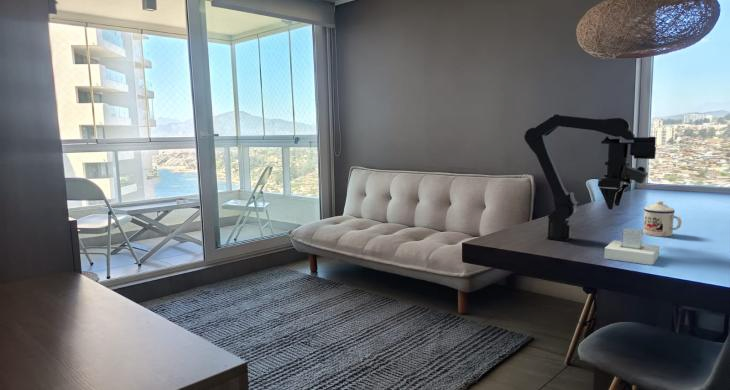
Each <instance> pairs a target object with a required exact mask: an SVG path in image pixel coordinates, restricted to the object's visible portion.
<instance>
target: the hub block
mask: <svg viewBox="0 0 730 390" xmlns="http://www.w3.org/2000/svg"><path fill="white" fill-rule="evenodd" d="M659 256H660V245H657V244H647V243H642V250H639V249H631V248H623V247H622V240H615V239H613V240H612V241H611V242H610V243H609V244H608V245H606V246H605V247H604V256H603V257H604V259H607V260H614V261H620V262H627V263H635V264H640V265H641V264H642V265H643V264H644V265H648V266H649V265H650V266H654V264H655V262H656V261H657V259H658V258H659Z"/></svg>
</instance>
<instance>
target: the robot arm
mask: <svg viewBox="0 0 730 390" xmlns="http://www.w3.org/2000/svg"><path fill="white" fill-rule="evenodd" d="M559 127H563V128H571V129H579V130H587V131H588V130H589V131H596V132H598V133H602V134H605V135H607V136H606V137H605V138H604V139H603V140H602V141H600V144H602V145H607V151H606V152H607V153H606V161H605V162H604V166H605V167H606V168H605V174H604V176H603V177H601V178H600V179H598V180H597V187H598V189H599V190H600V192H601V195H602V197H603V199H604V202H605V204H606V207H607V208H608V210H610V211H611V210H613V209H614V207H615V206H616V207H617V206H618V207H619V206H620V204H621V202H622V199H623V195H624V192H625V190H626V189H627V188H629V187H630V186H631V185H632V184H633V181H634V182H636V183H637V184H641V185H642V184H644V182H645V181H646V178H647V177H648V175H649V172H647V170H646V167H644V166H641V165H640V166H638V167H637V168H636V167H632V166H630V165H631V163H630V162H629V161H628V156H632V157H633V159H634V160H635V159H636V160H656V153H657V151H656V150H657V147H656V141H657V140H656V139H657V137H656V136H648V137H647V136H646V137H644V136H643V137H638V136H637V137H636V135H635V133H633V131H632V130H631V124H630V122H629V121H628V120H627V119H625V118H622V117H614V118H613V117H612V118H598V119H597V118H590V117H589V118H588V117H579V116H571V115H570V116H569V115H562V114H557V113H556V114H553V115H552V116H550V117H549V118H548V119H546V120H545V121H543V122H542V123H540V124H538V125H537V126H535V127H531V128H529V129H527V130H526V131H525V132H524V135H523V136H524V137H523V138H524V141H525V143H526V145H528V147H529V148H530V150H531V151H532V152H533V153H534V154H535V156H536V158H537V160H538V163H539V165H540V167H541V170H542V173H543V174H544V176H545V179H546V181H547V184H548V186H549V189H550V191H551V193H552V199H553V200H552V203H553V206H554V211H551V213H550V214H548V215H547V219H548V220H547V221H548V225H547V228H548V229H547V236H546V237H545V239H548V240H553V241H556V240H557V241H561V242H562V241H564V242H567V241H568V240H570V239H572V229H573V226H572V225H571V220H569V219H570V217H572V215H574V213H576V211H577V208H578V205H577V204H578V203H579V201H577V200H576V198H575V194H574V192H573V191H571V192H570V193H569V192H568V190H567V189H566V188H565V185H564V184H563V181H562V179H561V176H560V173H559V171H558V169H557V167H556V165H555V161H554V160H553V158H552V155H551V153H550V149H549V142H548V141H549V140H548V137H547V136H550V134H551V133H553V132H554V131H556V130H557V129H558V128H559ZM608 135H609V136H613V137H616V138H610V137H609V136H608ZM620 137H621V138H623V139H624V140H626V141H622V140H621V138H620ZM629 145H630V149H629ZM614 205H615V206H614Z"/></svg>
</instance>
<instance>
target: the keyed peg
mask: <svg viewBox="0 0 730 390" xmlns="http://www.w3.org/2000/svg"><path fill="white" fill-rule="evenodd" d="M643 231H644V229H637V228H630V227H629V228H627V227H626V228H623V230H622V237H621V241H622V247H623V248H631V249H639V250H642V244H643V234H644V232H643Z"/></svg>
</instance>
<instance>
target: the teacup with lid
mask: <svg viewBox="0 0 730 390" xmlns="http://www.w3.org/2000/svg"><path fill="white" fill-rule="evenodd" d="M643 210H644V219H643V234H644V235H648V236H653V237H661V238H662V237H664V238H665V237H671V236H672V235H673V231H676V230H679V229H680V228H681V226H682V223H683V222H682V218H681V217H680V216H677V215H675V212H676V211H675V208H672V207H670V206H668V205H667V204H666V203H665V204H664V201H663V200H657V201H656V203H653V204H651V205H649V206H645V207H644V208H643ZM674 219H676V220H677V225H676V227H674Z"/></svg>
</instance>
